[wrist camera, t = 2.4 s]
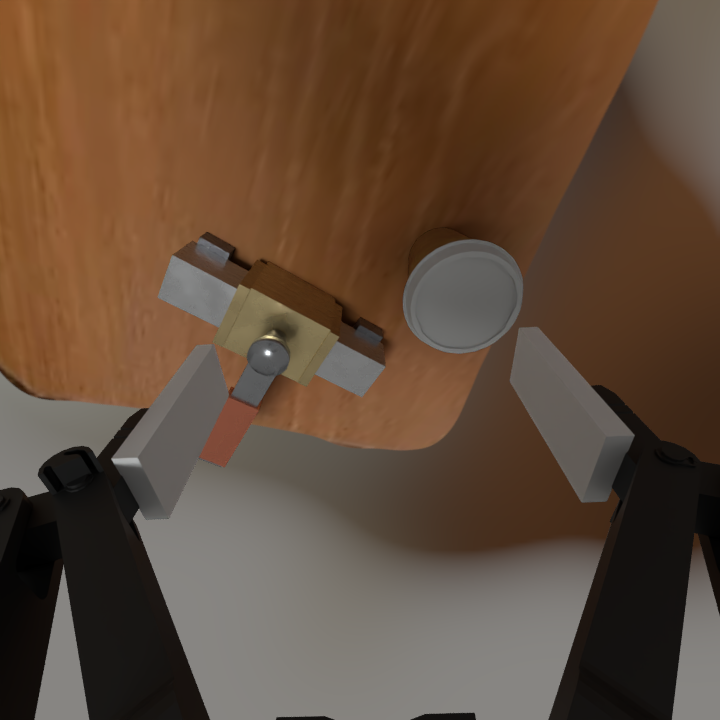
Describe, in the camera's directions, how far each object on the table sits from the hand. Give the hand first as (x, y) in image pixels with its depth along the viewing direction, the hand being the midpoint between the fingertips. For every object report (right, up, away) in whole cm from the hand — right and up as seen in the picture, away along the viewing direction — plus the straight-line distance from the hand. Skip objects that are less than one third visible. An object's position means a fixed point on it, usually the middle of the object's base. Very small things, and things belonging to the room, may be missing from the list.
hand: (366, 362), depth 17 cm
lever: (-12, -4, +20) cm, 24 cm away
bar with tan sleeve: (-8, +6, +26) cm, 28 cm away
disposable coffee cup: (+8, +11, +23) cm, 27 cm away
